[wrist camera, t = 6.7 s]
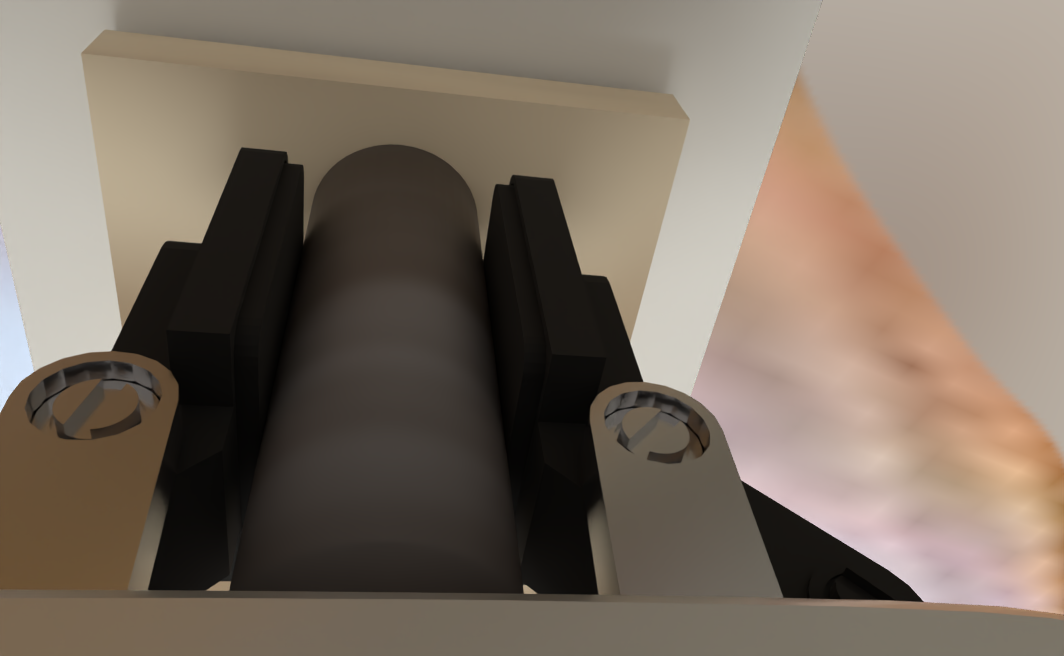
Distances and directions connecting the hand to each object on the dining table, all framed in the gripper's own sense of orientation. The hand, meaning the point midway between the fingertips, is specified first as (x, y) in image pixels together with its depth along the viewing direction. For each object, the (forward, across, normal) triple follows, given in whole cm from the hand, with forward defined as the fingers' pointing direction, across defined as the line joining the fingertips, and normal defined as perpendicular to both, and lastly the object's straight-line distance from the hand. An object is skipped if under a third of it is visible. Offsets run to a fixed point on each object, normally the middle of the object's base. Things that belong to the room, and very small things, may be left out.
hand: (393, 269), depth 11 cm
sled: (+2, 0, +9) cm, 9 cm away
